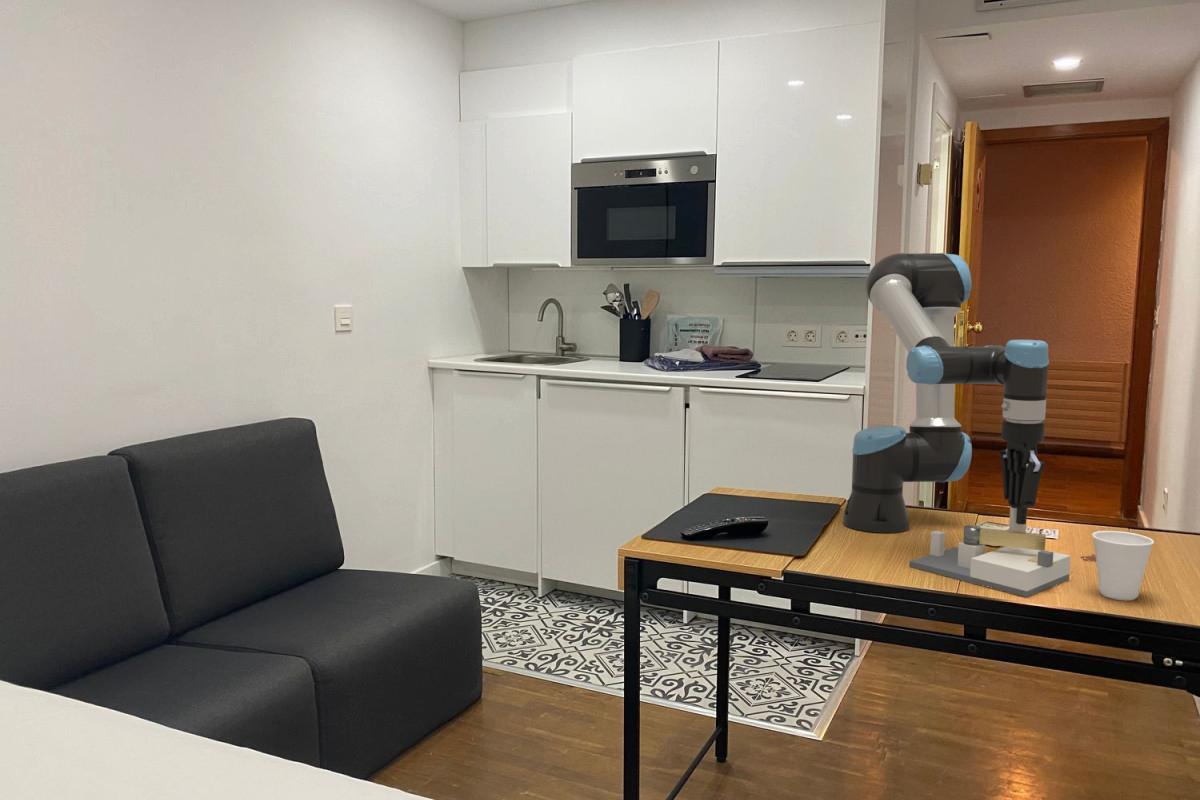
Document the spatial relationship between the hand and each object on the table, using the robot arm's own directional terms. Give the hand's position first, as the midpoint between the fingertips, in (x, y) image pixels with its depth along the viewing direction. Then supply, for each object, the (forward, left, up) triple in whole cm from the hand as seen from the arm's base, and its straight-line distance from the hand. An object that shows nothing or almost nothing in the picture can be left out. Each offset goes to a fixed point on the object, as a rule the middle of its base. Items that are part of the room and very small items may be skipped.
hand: (1017, 538), depth 181 cm
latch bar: (-1, -3, -1) cm, 3 cm away
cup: (+18, +3, -8) cm, 20 cm away
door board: (-4, -3, -7) cm, 9 cm away
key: (+8, +20, -8) cm, 23 cm away
